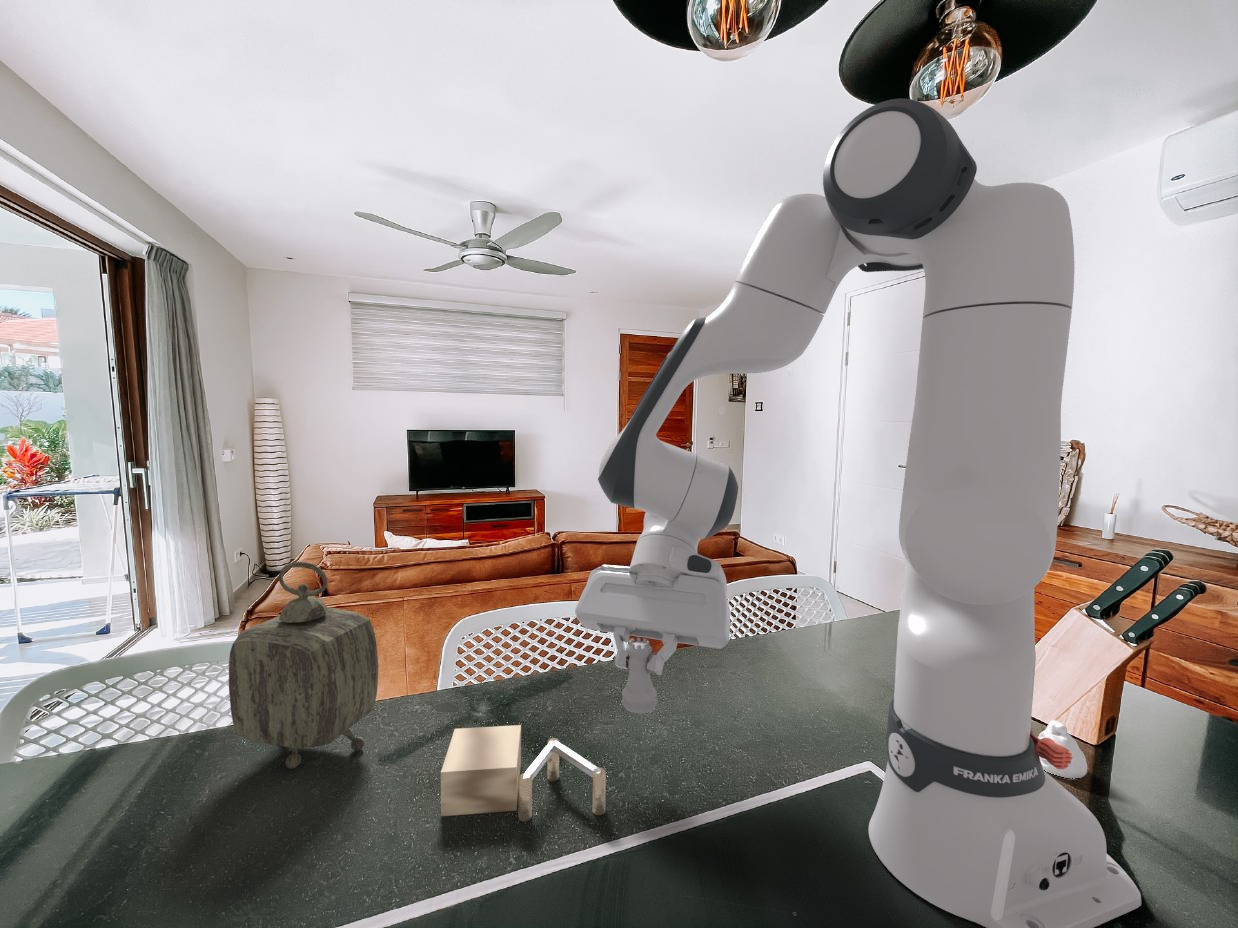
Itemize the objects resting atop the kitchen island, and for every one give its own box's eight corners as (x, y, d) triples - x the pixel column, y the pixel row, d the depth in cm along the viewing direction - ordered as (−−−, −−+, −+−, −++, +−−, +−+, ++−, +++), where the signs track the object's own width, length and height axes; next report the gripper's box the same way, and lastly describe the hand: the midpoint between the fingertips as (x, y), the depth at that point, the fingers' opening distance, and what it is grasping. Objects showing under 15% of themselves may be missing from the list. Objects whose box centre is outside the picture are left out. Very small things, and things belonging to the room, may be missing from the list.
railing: (599, 769, 64) (600, 734, 63) (605, 814, 56) (606, 775, 56) (522, 775, 63) (522, 739, 62) (518, 821, 55) (518, 781, 55)
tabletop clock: (380, 744, 68) (376, 558, 66) (327, 791, 59) (321, 578, 57) (288, 728, 71) (282, 550, 69) (225, 771, 62) (216, 568, 61)
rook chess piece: (655, 716, 61) (654, 650, 60) (617, 712, 62) (617, 647, 61) (660, 697, 65) (659, 635, 65) (625, 694, 66) (624, 633, 66)
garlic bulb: (1023, 709, 68) (1068, 712, 68) (1020, 752, 69) (1064, 756, 68) (1054, 733, 63) (1103, 737, 62) (1050, 781, 63) (1098, 784, 63)
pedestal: (521, 763, 65) (521, 724, 64) (516, 810, 57) (516, 766, 57) (455, 767, 64) (454, 728, 63) (441, 816, 56) (440, 772, 56)
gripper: (586, 551, 73) (553, 645, 65) (732, 564, 65) (715, 673, 57) (600, 574, 77) (570, 665, 69) (738, 589, 69) (724, 694, 61)
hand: (637, 669), depth 63 cm, fingers closed on rook chess piece, 3 cm apart
